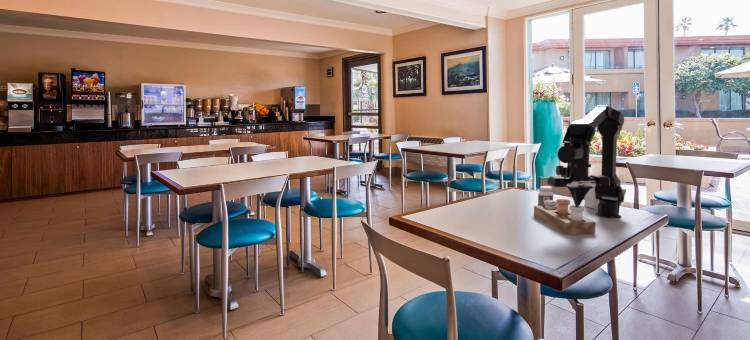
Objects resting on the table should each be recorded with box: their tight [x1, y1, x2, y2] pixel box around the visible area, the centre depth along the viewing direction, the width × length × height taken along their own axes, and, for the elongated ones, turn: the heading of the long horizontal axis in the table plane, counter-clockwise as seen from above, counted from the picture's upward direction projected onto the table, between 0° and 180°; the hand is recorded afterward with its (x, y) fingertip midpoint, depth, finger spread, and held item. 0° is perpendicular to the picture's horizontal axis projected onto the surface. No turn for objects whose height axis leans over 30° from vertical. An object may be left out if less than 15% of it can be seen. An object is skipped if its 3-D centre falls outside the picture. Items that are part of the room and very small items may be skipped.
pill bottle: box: [537, 185, 554, 206], centre depth 170 cm, size 6×6×10 cm
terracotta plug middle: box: [555, 198, 571, 215], centre depth 150 cm, size 5×5×6 cm
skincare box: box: [584, 183, 599, 210], centre depth 174 cm, size 6×4×12 cm
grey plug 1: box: [544, 199, 557, 209], centre depth 160 cm, size 5×5×6 cm
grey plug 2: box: [568, 204, 586, 222], centre depth 141 cm, size 5×5×6 cm
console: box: [533, 205, 597, 235], centre depth 151 cm, size 10×25×4 cm, turn 3°
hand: (577, 206), depth 140 cm, fingers closed
